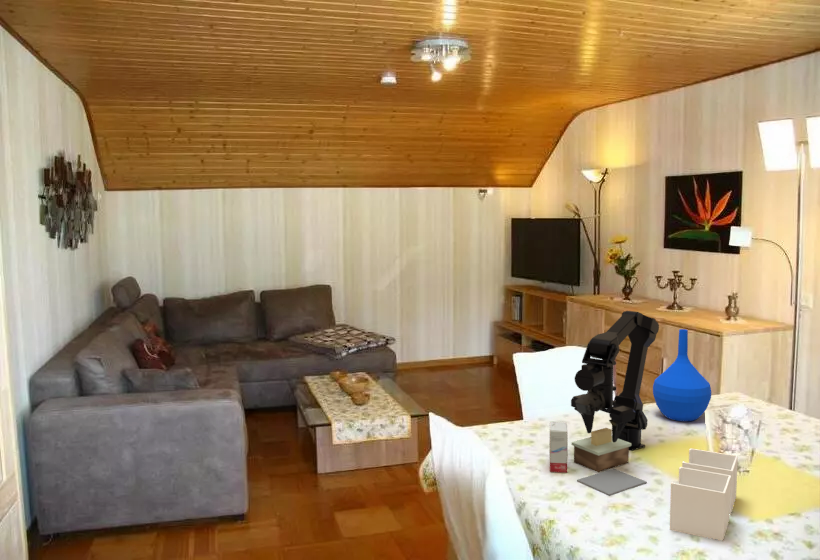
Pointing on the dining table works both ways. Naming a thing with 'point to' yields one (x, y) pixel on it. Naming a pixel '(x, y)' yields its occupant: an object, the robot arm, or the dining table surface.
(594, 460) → the box
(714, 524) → the storage container
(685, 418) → the vase
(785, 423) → the dining table surface
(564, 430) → the ink box
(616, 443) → the lid
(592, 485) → the mat
